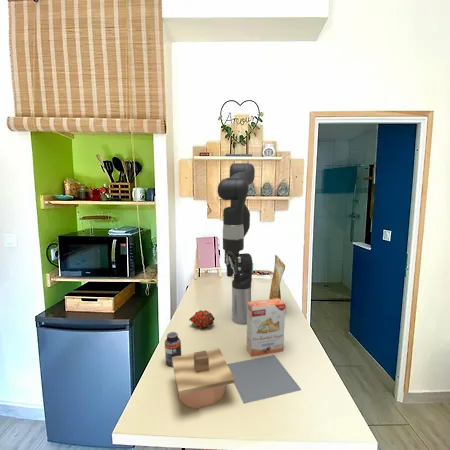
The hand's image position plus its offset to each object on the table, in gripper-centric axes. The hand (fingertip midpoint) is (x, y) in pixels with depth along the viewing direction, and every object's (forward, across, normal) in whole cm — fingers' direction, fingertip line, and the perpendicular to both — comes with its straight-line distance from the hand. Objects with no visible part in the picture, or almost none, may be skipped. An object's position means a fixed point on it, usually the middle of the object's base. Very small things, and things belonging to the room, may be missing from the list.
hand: (233, 280), depth 106 cm
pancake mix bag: (+32, -34, +35) cm, 59 cm away
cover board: (+25, +12, -15) cm, 32 cm away
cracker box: (+32, -2, +14) cm, 35 cm away
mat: (+32, +12, +6) cm, 35 cm away
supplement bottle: (+32, -6, -22) cm, 40 cm away
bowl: (+32, +12, -15) cm, 37 cm away
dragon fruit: (+32, -29, -6) cm, 44 cm away
